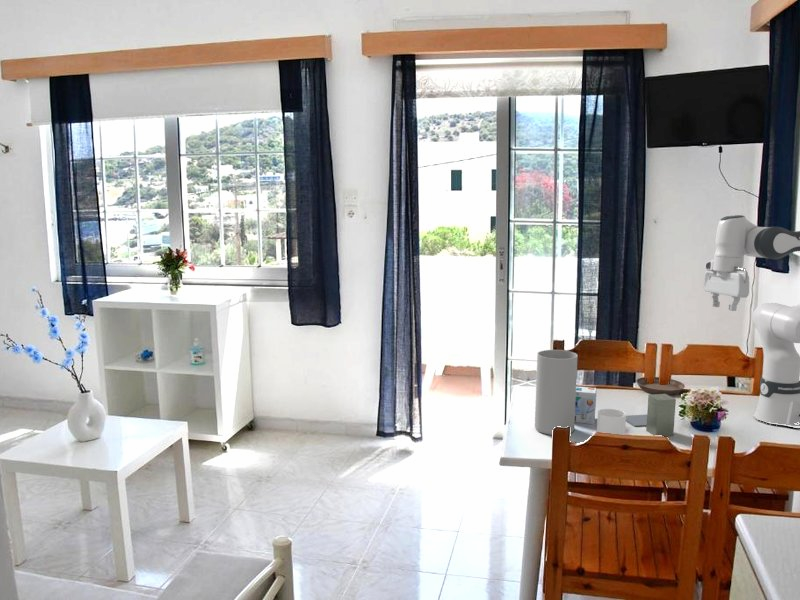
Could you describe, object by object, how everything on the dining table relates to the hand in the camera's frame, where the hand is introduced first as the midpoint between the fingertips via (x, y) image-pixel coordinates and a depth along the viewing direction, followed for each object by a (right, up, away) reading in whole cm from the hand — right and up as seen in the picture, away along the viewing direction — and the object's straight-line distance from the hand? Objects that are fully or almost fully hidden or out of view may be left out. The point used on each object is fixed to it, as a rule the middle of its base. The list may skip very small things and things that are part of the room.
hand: (723, 308), depth 238 cm
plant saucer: (-4, -32, +46) cm, 57 cm away
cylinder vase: (-55, -39, +1) cm, 67 cm away
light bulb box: (-44, -38, +11) cm, 59 cm away
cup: (-40, -41, -11) cm, 59 cm away
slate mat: (-24, -38, +10) cm, 46 cm away
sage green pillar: (-21, -40, -2) cm, 45 cm away
